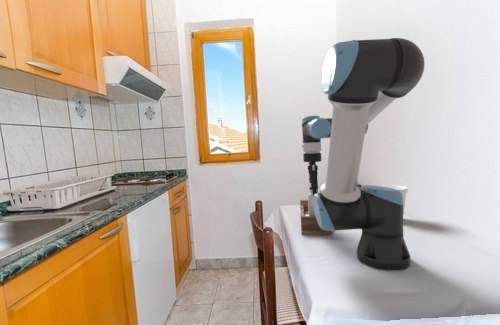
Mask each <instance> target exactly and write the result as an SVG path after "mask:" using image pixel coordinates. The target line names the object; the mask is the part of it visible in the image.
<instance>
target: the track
mask: <svg viewBox="0 0 500 325" xmlns="http://www.w3.org/2000/svg"><path fill="white" fill-rule="evenodd" d="M299 201H300V202H299V203H300V204H299V206H300V232H301V235H302V236H303V235H305V236H306V235H307V236H310V235H311V236H332V231H325V230H322V229H321V228H320V226H319V225H318V222H317V219H316V216H305V215H309V211H308V199H299Z"/></svg>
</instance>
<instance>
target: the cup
mask: <svg viewBox="0 0 500 325" xmlns="http://www.w3.org/2000/svg"><path fill="white" fill-rule="evenodd" d="M380 186H381V187H388V188H392V189H396V190H398V191H400V192H401V193H402V197H403V204H404V206H403V216H404V213H405V205H406V204H405V203H406V197H407V196H406V195H407V193H408V192H409V191H408V190H409V188H408V187H407V186H403V185H398V184H396V185H395V184H394V185H393V184H384V185H380Z"/></svg>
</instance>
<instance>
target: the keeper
mask: <svg viewBox="0 0 500 325" xmlns="http://www.w3.org/2000/svg"><path fill="white" fill-rule="evenodd" d="M307 200H308V211H309V215H305V216H315V211H314V206H313V205H311V193H310V192H307Z"/></svg>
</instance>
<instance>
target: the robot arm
mask: <svg viewBox="0 0 500 325" xmlns="http://www.w3.org/2000/svg"><path fill="white" fill-rule="evenodd" d="M425 64H426V63H425V57H424V53H423V52H422V50H421V49H420V47H419V45H417V44H416V43H414V42H413V41H411V40H410V39H406V38H400V37H392V38H378V39H377V38H376V39H358V40H357V39H353V40H346V41H341V42H336V43H335V44H333V45H332V46H331V48H329V50H328V52H327V54H326V55H325V58H324V62H323V64H322V65H323V66H322V70H321V80H320V81H321V89H322V92H323V93H324V94H326V95H327V101H328V102H329V103H330V104H331V105H332V115H331V116H332V117H329V118H328V117H327V118H325V117H320V116H319V115H308V116H307V115H306V116H303V117H302V119H301V129H302V145H301V148H303V149H302V151H303V155H302V156H303V162H305V163H308V165H307V170H308V178H309V179H308V181H309V184H308V185H309V193H311V205H313V206H314V211H315V216H316V219H317V222H318V225H319V226H320V228H321V229H322V230H325V231H331V232H332V231H333V232H336V231H348V230H361V235H360V238H359V241H358V244H357V247H356V258H357V260H358V261H359V262H360V263H362V264H363V265H366V266H368V267H371V268H374V269H378V270H383V271H401V270H405V269H408V268H410V266H411V263H412V262H411V255H410V252H409V248H408V246H407V244H406V241H405V239H404V215H403V206H404V204H403V197H402V193H401V192H400V191H398V190H396V189H392V188H388V187H381V185H369V184H368V185H366V184H365V185H361V186H360V188H359V187H358V180H359V171H360V166H361V160H362V155H363V154H362V152H363V147H364V143H365V142H364V141H365V135H366V134H367V131H368V130H369V124H370V123H371V122H372V121H373V120H374V119H375V118H376V117H377V116H379V115H380V114H381V113H382V112H383V111H384V110H385V109H387V107H389V106H390V105H391V104H392V103H393V102H394V101H395V100H396V99H402V98H403V97H405V96H406V95H408V94H409V93H410V92H411V91H412V90H413V89H414V88H415V87H416V86H417V85H418V83H419V82H420V80H421V79H422V78H423V74H424V71H425ZM323 139H329V148H328V158H327V168H326V177H325V178H326V180H325V182H324V183H322V184H321V186H320V187H319V182H318V165H317V164H316V163H319V162H321V161H322V153H321V151H322V141H321V140H323ZM404 207H405V206H404Z"/></svg>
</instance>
